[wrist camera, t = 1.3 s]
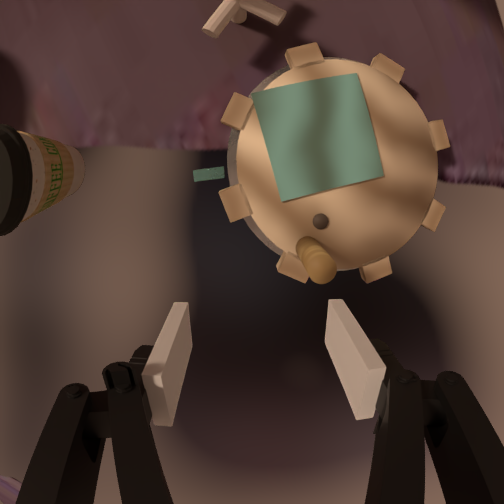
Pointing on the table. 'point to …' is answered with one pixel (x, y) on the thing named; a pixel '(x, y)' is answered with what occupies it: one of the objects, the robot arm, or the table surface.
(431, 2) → the table surface
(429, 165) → the sprocket
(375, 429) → the robot arm
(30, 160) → the coffee cup
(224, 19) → the light wooden cross
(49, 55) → the table surface
